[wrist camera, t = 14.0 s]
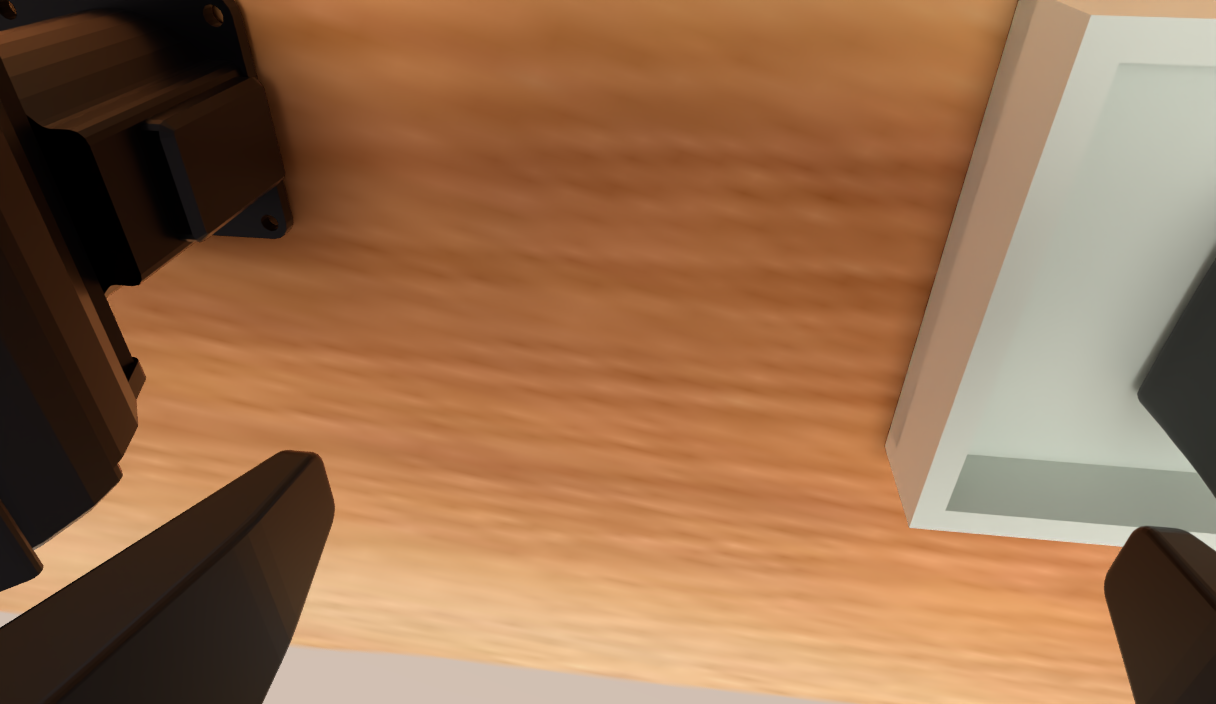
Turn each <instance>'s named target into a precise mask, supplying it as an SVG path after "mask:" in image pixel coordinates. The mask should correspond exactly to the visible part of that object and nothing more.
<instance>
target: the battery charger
mask: <svg viewBox="0 0 1216 704" xmlns="http://www.w3.org/2000/svg"><path fill="white" fill-rule="evenodd" d="M1137 396H1138V399H1139V402H1140V403H1141V404H1142V405H1143V406H1144V407H1145V409H1146V410H1147V411H1148V412H1149V413H1150V415H1151V416H1152V417H1153V418H1154V419H1155V420H1156V422H1157V423H1158V424H1159V425H1160V426H1161V427H1162V429H1163V430H1164V431H1165V432H1166V434H1167V435H1168V436H1169V438H1170V439H1171V440H1172V441H1173V443H1174V444H1175V445H1176V446H1177V448H1178V449H1179V450H1180V451H1181V452H1182V454H1183V455H1184V456H1185V457H1186V459H1187V460H1188V461H1189V463H1190V464H1191V465H1192V466H1193V468H1194V469H1195V470H1196V472H1197V473H1198V474H1199V476H1200V477H1201V478H1202V480H1203V481H1204V483H1205V484H1206V485H1207V487H1208V488H1209V490H1210V491H1211V493H1212V494H1213V495H1214V497H1215V498H1216V258H1215V260H1214V262H1213V263H1212V265H1211V266H1210V268H1209V270H1208V271H1207V273H1206V274H1205V276H1204V278H1203V279H1202V281H1201V283H1200V284H1199V286H1198V287H1197V289H1196V291H1195V292H1194V294H1193V296H1192V297H1191V299H1190V301H1189V302H1188V304H1187V306H1186V308H1185V309H1184V311H1183V313H1182V315H1181V316H1180V318H1179V320H1178V321H1177V323H1176V325H1175V327H1174V328H1173V330H1172V332H1171V334H1170V335H1169V337H1168V339H1167V341H1166V342H1165V344H1164V346H1163V347H1162V349H1161V351H1160V353H1159V354H1158V356H1157V358H1156V360H1155V362H1154V363H1153V365H1152V367H1151V369H1150V371H1149V372H1148V374H1147V376H1146V378H1145V379H1144V381H1143V383H1142V385H1141V387H1140V388H1139V391H1138V393H1137Z"/></svg>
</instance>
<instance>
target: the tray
mask: <svg viewBox="0 0 1216 704" xmlns="http://www.w3.org/2000/svg"><path fill="white" fill-rule="evenodd" d="M1215 258H1216V0H1019V1H1018V4H1017V7H1016V11H1015V14H1014V17H1013V21H1012V24H1011V27H1010V31H1009V34H1008V37H1007V41H1006V44H1005V47H1004V51H1003V54H1002V57H1001V61H1000V64H999V67H998V71H997V74H996V77H995V81H994V84H993V87H992V91H991V94H990V97H989V101H988V104H987V107H986V111H985V114H984V117H983V121H982V124H981V127H980V131H979V134H978V137H977V141H976V144H975V147H974V151H973V154H972V157H971V161H970V164H969V167H968V171H967V174H966V177H965V181H964V184H963V187H962V191H961V194H960V197H959V201H958V204H957V207H956V211H955V214H954V217H953V221H952V224H951V227H950V231H949V234H948V237H947V241H946V244H945V247H944V251H943V254H942V257H941V261H940V264H939V267H938V271H937V274H936V277H935V281H934V284H933V287H932V291H931V294H930V297H929V301H928V304H927V307H926V311H925V314H924V317H923V321H922V324H921V327H920V331H919V334H918V337H917V341H916V344H915V347H914V351H913V354H912V357H911V361H910V364H909V367H908V371H907V374H906V377H905V381H904V384H903V387H902V391H901V394H900V397H899V401H898V404H897V407H896V410H895V414H894V417H893V420H892V424H891V427H890V430H889V434H888V437H887V440H886V444H885V449H886V453H887V456H888V459H889V463H890V466H891V469H892V473H893V476H894V479H895V483H896V486H897V489H898V492H899V496H900V499H901V502H902V506H903V509H904V512H905V516H906V519H907V522H908V525H909V528H918V529H930V530H941V531H952V532H963V533H975V534H986V535H997V536H1008V537H1020V538H1031V539H1042V540H1053V541H1065V542H1076V543H1087V544H1098V545H1110V546H1121V547H1123V546H1124V544H1125V543H1126V541H1127V539H1128V538H1129V536H1130V534H1131V533H1132V532H1133V531H1134V530H1135V529H1137V528H1139V527H1140V526H1158V527H1169V528H1178V529H1182V530H1185V531H1187V532H1189V533H1191V534H1192V535H1194V536H1195V537H1197V538H1198V539H1200V540H1201V541H1203V542H1204V543H1205V544H1207V545H1208V546H1210V547H1211V548H1212V549H1214V550H1215V551H1216V498H1215V497H1214V495H1213V494H1212V493H1211V491H1210V490H1209V488H1208V487H1207V485H1206V484H1205V483H1204V481H1203V480H1202V478H1201V477H1200V476H1199V474H1198V473H1197V472H1196V470H1195V469H1194V468H1193V466H1192V465H1191V464H1190V463H1189V461H1188V460H1187V459H1186V457H1185V456H1184V455H1183V454H1182V452H1181V451H1180V450H1179V449H1178V448H1177V446H1176V445H1175V444H1174V443H1173V441H1172V440H1171V439H1170V438H1169V436H1168V435H1167V434H1166V432H1165V431H1164V430H1163V429H1162V427H1161V426H1160V425H1159V424H1158V423H1157V422H1156V420H1155V419H1154V418H1153V417H1152V416H1151V415H1150V413H1149V412H1148V411H1147V410H1146V409H1145V407H1144V406H1143V405H1142V404H1141V403H1140V402H1139V399H1138V396H1137V393H1138V391H1139V388H1140V387H1141V385H1142V383H1143V381H1144V379H1145V378H1146V376H1147V374H1148V372H1149V371H1150V369H1151V367H1152V365H1153V363H1154V362H1155V360H1156V358H1157V356H1158V354H1159V353H1160V351H1161V349H1162V347H1163V346H1164V344H1165V342H1166V341H1167V339H1168V337H1169V335H1170V334H1171V332H1172V330H1173V328H1174V327H1175V325H1176V323H1177V321H1178V320H1179V318H1180V316H1181V315H1182V313H1183V311H1184V309H1185V308H1186V306H1187V304H1188V302H1189V301H1190V299H1191V297H1192V296H1193V294H1194V292H1195V291H1196V289H1197V287H1198V286H1199V284H1200V283H1201V281H1202V279H1203V278H1204V276H1205V274H1206V273H1207V271H1208V270H1209V268H1210V266H1211V265H1212V263H1213V262H1214V260H1215Z"/></svg>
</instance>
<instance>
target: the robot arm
mask: <svg viewBox="0 0 1216 704" xmlns="http://www.w3.org/2000/svg"><path fill="white" fill-rule="evenodd" d="M9 1H10V2H11V3H12V4H13V5H14V7H15V8H16V12H17V14H15V13H14V12H13V11H12V9H11V8H10V6H9ZM9 1H8V0H0V592H1V591H3V590H6V589H8V588H11V587H14V586H16V585H19V584H21V583H24V582H26V581H29V580H31V579H33V578H35V577H36V576H37V575H39V574H40V573H41V571H42V570H43V564H42V563H41V561H40V560H39V558H38V556H37V555H36V553H35V552H34V550H35V549H37V548H38V547H40V546H42V545H44V544H45V543H46V542H48V541H49V540H51V539H52V538H53V537H55V536H56V535H58V534H59V533H60V532H62V531H63V530H65V529H66V528H67V527H69V526H70V525H72V524H73V523H74V522H76V521H77V520H79V519H80V518H81V517H83V516H84V515H86V514H87V513H88V512H90V511H91V510H92V509H93V508H94V507H95V506H96V505H97V504H98V503H99V502H100V501H101V500H102V499H103V498H104V497H105V496H106V495H107V494H108V493H109V492H110V491H111V490H112V489H113V488H114V487H115V486H116V485H117V483H118V482H119V481H120V479H121V478H122V476H123V474H122V470H121V468H120V466H119V464H118V462H119V461H120V460H121V459H122V457H123V455H124V453H125V451H126V449H127V447H128V445H129V443H130V441H131V439H132V437H133V435H134V433H135V431H136V429H137V427H138V417H137V402H136V399H137V397H138V395H139V393H140V391H141V389H142V386H143V384H144V382H145V380H146V376H145V374H144V372H143V369H142V367H141V365H140V362H139V360H138V359H137V358H135V357H132V356H131V354H130V352H129V349H128V347H127V345H126V343H125V340H124V338H123V336H122V333H121V331H120V329H119V327H118V324H117V322H116V320H115V317H114V315H113V313H112V311H111V308H110V306H109V304H108V301H107V299H106V298H107V297H108V296H109V295H111V294H112V293H113V292H115V291H116V290H118V289H119V288H120V287H122V286H123V285H124V286H136V285H139V284H141V283H142V282H143V281H145V280H146V279H147V278H149V277H150V276H151V275H153V274H154V273H155V272H156V271H158V270H159V269H160V268H162V267H163V266H164V265H166V264H167V263H168V262H170V261H171V260H172V259H174V258H175V257H176V256H178V255H179V254H180V253H182V252H183V251H184V250H185V249H187V248H188V247H189V246H191V245H192V244H193V243H195V242H202V241H205V240H206V239H207V238H209V237H210V236H211V235H220V236H236V237H253V238H270V239H276V238H281V237H282V236H283V235H285V234H286V233H287V232H288V231H289V230H290V229H291V227H292V225H293V217H292V213H291V209H290V205H289V201H288V198H287V194H286V190H285V186H284V182H283V177H284V176H285V171H284V167H283V162H282V158H281V154H280V150H279V146H278V142H277V138H276V134H275V130H274V126H273V122H272V118H271V114H270V110H269V106H268V102H267V98H266V94H265V90H264V87H263V86H262V85H261V83H260V82H259V81H258V79H257V75H256V71H255V67H254V63H253V59H252V55H251V51H250V47H249V43H248V39H247V35H246V31H245V27H244V23H243V19H242V15H241V12H240V10H239V7H238V5H237V4H236V3H235V1H234V0H9ZM213 5H214V6H216V7H217V8H218V9H219V10H220V11H221V13H222V15H223V23H220V22H219V21H218V20H216V19H215V17H214V15H213V13H212V6H213ZM268 215H271V216H273V217H274V218H275V219H276V220H277V222H278V225H275V224H273V223H272V222H271V221H270V220H269V218H268ZM334 512H335V504H334V499H333V495H332V492H331V488H330V485H329V481H328V478H327V474H326V471H325V467H324V463H323V461H322V459H321V457H320V456H319V455H318V454H316V453H314V452H304V451H293V450H285V451H281V452H279V453H277V454H275V455H273V456H272V457H270V458H269V459H267V460H265V461H264V462H262V463H261V464H259V465H258V466H256V467H254V468H253V469H251V470H250V471H248V472H246V473H245V474H243V475H242V476H240V477H238V478H237V479H235V480H234V481H232V482H231V483H229V484H227V485H226V486H224V487H223V488H221V489H219V490H218V491H216V492H215V493H213V494H212V495H210V496H208V497H207V498H205V499H204V500H202V501H200V502H199V503H197V504H196V505H194V506H192V507H191V508H189V509H188V510H186V511H185V512H183V513H181V514H180V515H178V516H177V517H175V518H173V519H172V520H170V521H169V522H167V523H166V524H164V525H162V526H161V527H159V528H158V529H156V530H154V531H153V532H151V533H150V534H148V535H147V536H145V537H143V538H142V539H140V540H139V541H137V542H135V543H134V544H132V545H131V546H129V547H127V548H126V549H124V550H123V551H121V552H120V553H118V554H116V555H115V556H113V557H112V558H110V559H108V560H107V561H105V562H104V563H102V564H101V565H99V566H97V567H96V568H94V569H93V570H91V571H89V572H88V573H86V574H85V575H83V576H81V577H80V578H78V579H77V580H75V581H74V582H72V583H70V584H69V585H67V586H66V587H64V588H62V589H61V590H59V591H58V592H56V593H55V594H53V595H51V596H50V597H48V598H47V599H45V600H43V601H42V602H40V603H39V604H37V605H36V606H34V607H32V608H31V609H29V610H28V611H26V612H24V613H23V614H21V615H20V616H18V617H17V618H15V619H14V620H12V621H10V622H9V623H7V624H5V625H4V626H2V627H1V628H0V704H262V703H263V701H264V699H265V696H266V694H267V692H268V690H269V688H270V686H271V684H272V682H273V680H274V677H275V675H276V673H277V671H278V669H279V666H280V665H281V663H282V660H283V658H284V656H285V653H286V651H287V649H288V647H289V645H290V642H291V640H292V637H293V634H294V632H295V629H296V626H297V624H298V621H299V618H300V615H301V612H302V610H303V607H304V604H305V601H306V598H307V595H308V592H309V589H310V586H311V584H312V581H313V578H314V575H315V572H316V569H317V566H318V563H319V560H320V558H321V555H322V552H323V549H324V546H325V543H326V540H327V537H328V534H329V532H330V529H331V526H332V523H333V519H334ZM1104 592H1105V598H1106V602H1107V606H1108V609H1109V613H1110V616H1111V620H1112V623H1113V627H1114V630H1115V634H1116V637H1117V641H1118V644H1119V648H1120V651H1121V655H1122V658H1123V662H1124V665H1125V669H1126V672H1127V676H1128V679H1129V683H1130V686H1131V690H1132V693H1133V697H1134V700H1135V704H1216V551H1215V550H1214V549H1212V548H1211V547H1210V546H1208V545H1207V544H1205V543H1204V542H1203V541H1201V540H1200V539H1198V538H1197V537H1195V536H1194V535H1192V534H1191V533H1189V532H1187V531H1185V530H1182V529H1178V528H1169V527H1158V526H1140V527H1139V528H1137V529H1135V530H1134V531H1133V532H1132V533H1131V534H1130V536H1129V538H1128V539H1127V541H1126V543H1125V544H1124V546H1123V547H1122V549H1121V551H1120V552H1119V554H1118V556H1117V557H1116V559H1115V561H1114V562H1113V564H1112V565H1111V567H1110V569H1109V570H1108V572H1107V574H1106V578H1105V582H1104Z"/></svg>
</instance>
